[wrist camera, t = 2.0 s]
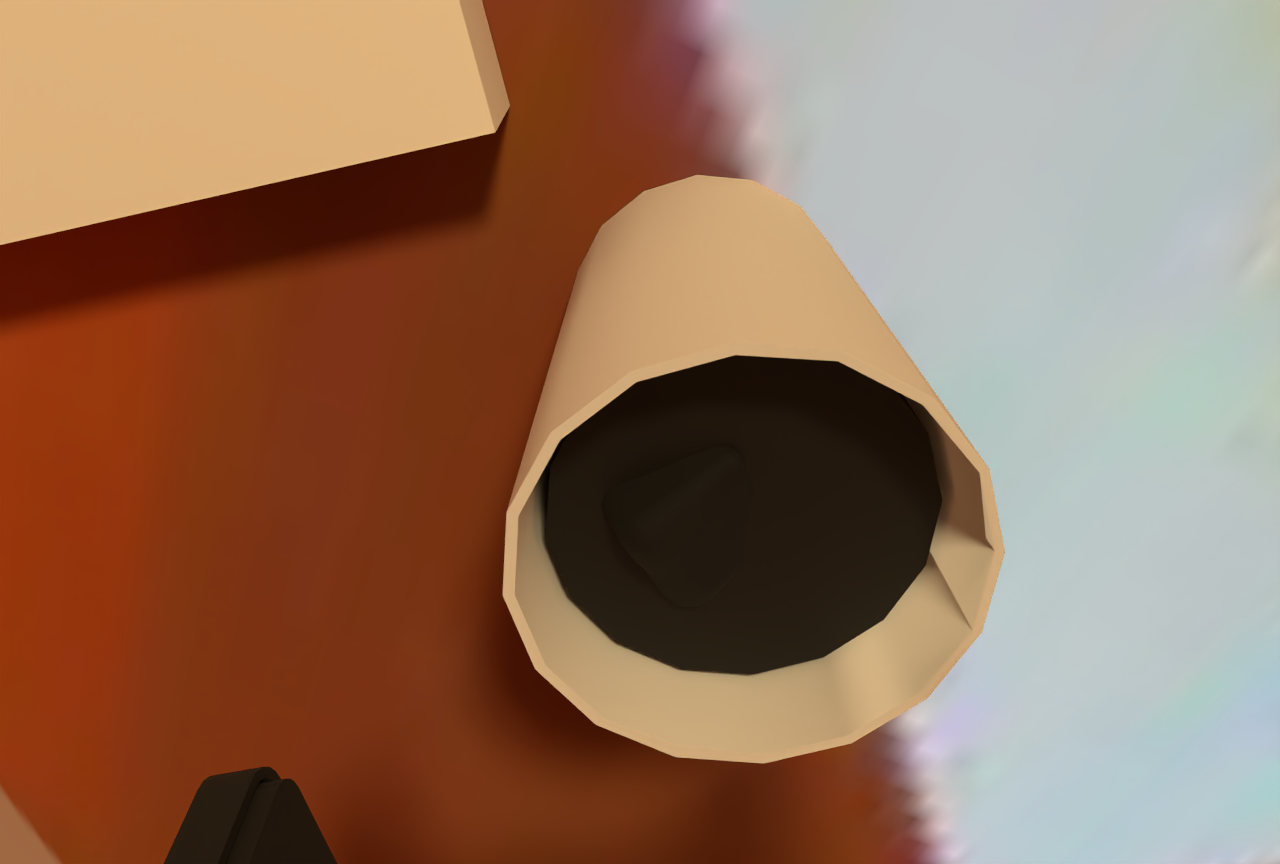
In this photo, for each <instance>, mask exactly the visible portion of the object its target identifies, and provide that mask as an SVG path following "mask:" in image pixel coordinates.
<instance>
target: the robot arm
mask: <svg viewBox="0 0 1280 864" xmlns="http://www.w3.org/2000/svg"><path fill="white" fill-rule="evenodd" d="M164 864H337V863H336V861H335V859H334V857H333V855H332V853H331V851H330V849H329V847H328V845H327V843H326V841H325V839H324V837H323V835H322V833H321V831H320V829H319V827H318V825H317V823H316V821H315V819H314V817H313V815H312V813H311V811H310V809H309V807H308V805H307V803H306V801H305V799H304V797H303V795H302V793H301V791H300V789H299V787H298V786H297V785H296V783H295V782H294V781H293V780H291V779H282V780H281V778H280V777H279V776H278V774H277V773H276V771H275V770H273V769H272V768H270V767H260V768H254V769H248V770H243V771H237V772H231V773H225V774H219V775H213V776H210V777H208V778H207V779H205V780H204V781H203V782H202V784H201V786H200V787H199V789H198V791H197V793H196V795H195V797H194V799H193V801H192V804H191V806H190V808H189V810H188V812H187V814H186V817H185V819H184V821H183V823H182V825H181V827H180V830H179V832H178V834H177V836H176V838H175V840H174V843H173V845H172V847H171V849H170V851H169V853H168V856H167V858H166V860H165V862H164Z"/></svg>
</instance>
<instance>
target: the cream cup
mask: <svg viewBox="0 0 1280 864" xmlns="http://www.w3.org/2000/svg"><path fill="white" fill-rule="evenodd" d="M1004 553H1005V550H1004V545H1003V540H1002V534H1001V529H1000V524H999V518H998V513H997V508H996V502H995V497H994V491H993V486H992V481H991V475H990V470H989V468H988V467H987V465H986V464H985V462H984V461H983V460H982V458H981V457H980V455H979V454H978V453H977V451H976V450H975V448H974V447H973V445H972V444H971V443H970V441H969V440H968V438H967V437H966V436H965V434H964V433H963V431H962V430H961V429H960V427H959V426H958V424H957V423H956V422H955V420H954V419H953V417H952V416H951V414H950V413H949V412H948V410H947V409H946V407H945V406H944V405H943V403H942V402H941V400H940V399H939V398H938V396H937V395H936V393H935V392H934V391H933V389H932V388H931V386H930V385H929V383H928V382H927V381H926V379H925V378H924V376H923V375H922V374H921V372H920V371H919V369H918V368H917V367H916V365H915V364H914V362H913V361H912V360H911V358H910V357H909V355H908V354H907V352H906V351H905V350H904V348H903V347H902V345H901V344H900V343H899V341H898V340H897V338H896V337H895V336H894V334H893V333H892V331H891V330H890V329H889V327H888V326H887V324H886V323H885V321H884V320H883V319H882V317H881V316H880V314H879V313H878V312H877V310H876V309H875V307H874V306H873V305H872V303H871V302H870V300H869V299H868V298H867V296H866V295H865V293H864V292H863V290H862V289H861V288H860V286H859V285H858V283H857V282H856V281H855V279H854V278H853V276H852V275H851V274H850V272H849V271H848V269H847V268H846V267H845V265H844V264H843V262H842V261H841V259H840V258H839V257H838V255H837V254H836V252H835V251H834V250H833V248H832V246H831V245H830V244H829V242H828V241H827V240H826V238H825V237H824V236H823V235H822V233H821V232H820V231H819V229H818V228H817V227H816V225H815V224H814V223H813V222H812V220H811V219H810V218H809V216H808V215H807V214H806V213H805V211H804V210H803V209H802V207H801V206H800V205H798V204H796V203H794V202H792V201H790V200H789V199H787V198H785V197H783V196H781V195H779V194H777V193H776V192H774V191H772V190H770V189H768V188H766V187H765V186H763V185H761V184H759V183H757V182H755V181H753V180H746V179H735V178H725V177H714V176H704V175H695V176H692V177H689V178H686V179H682V180H679V181H676V182H672V183H669V184H666V185H663V186H659V187H656V188H653V189H649V190H646V191H643V192H642V193H641V194H640V195H639V196H637V197H636V198H635V199H634V200H632V201H631V202H630V203H629V204H628V205H626V206H625V207H624V208H623V209H621V210H620V211H619V212H618V213H617V214H615V215H614V216H613V217H612V218H610V219H609V220H608V221H607V222H606V223H604V224H603V225H602V226H601V228H600V230H599V232H598V234H597V235H596V237H595V239H594V241H593V243H592V245H591V247H590V249H589V251H588V253H587V254H586V256H585V258H584V260H583V262H582V264H581V266H580V268H579V270H578V271H577V276H576V279H575V282H574V286H573V289H572V293H571V296H570V299H569V303H568V306H567V309H566V313H565V316H564V320H563V323H562V326H561V330H560V333H559V337H558V340H557V343H556V347H555V350H554V353H553V357H552V360H551V364H550V367H549V370H548V374H547V377H546V381H545V384H544V387H543V391H542V394H541V397H540V401H539V404H538V408H537V411H536V414H535V418H534V421H533V425H532V428H531V431H530V435H529V438H528V441H527V445H526V448H525V452H524V455H523V458H522V462H521V465H520V469H519V472H518V475H517V479H516V482H515V485H514V489H513V492H512V496H511V499H510V502H509V506H508V509H507V515H506V535H505V556H504V577H503V597H504V600H505V602H506V604H507V606H508V609H509V611H510V613H511V615H512V618H513V620H514V622H515V625H516V627H517V629H518V631H519V634H520V636H521V638H522V641H523V643H524V645H525V647H526V650H527V652H528V654H529V657H530V659H531V661H532V663H533V666H534V668H535V670H537V671H538V672H539V673H540V674H541V675H542V676H543V677H544V678H545V679H546V680H547V681H549V682H550V683H551V684H552V685H553V686H554V687H555V688H556V689H557V690H558V691H559V692H561V693H562V694H563V695H564V696H565V697H566V698H567V699H568V700H569V701H570V702H571V703H573V704H574V705H575V706H576V707H577V708H578V709H579V710H580V711H581V712H582V713H583V714H585V715H586V716H587V717H588V718H589V719H590V720H591V721H592V722H593V723H594V724H596V725H597V726H600V727H602V728H605V729H607V730H610V731H612V732H615V733H617V734H620V735H622V736H625V737H627V738H630V739H632V740H635V741H637V742H639V743H642V744H644V745H647V746H649V747H652V748H654V749H657V750H659V751H662V752H664V753H667V754H669V755H672V756H674V757H681V758H695V759H709V760H723V761H737V762H751V763H768V762H772V761H777V760H781V759H785V758H790V757H794V756H798V755H803V754H807V753H811V752H816V751H820V750H824V749H829V748H833V747H837V746H842V745H846V744H850V743H853V742H854V741H856V740H858V739H859V738H861V737H863V736H864V735H866V734H868V733H869V732H871V731H873V730H875V729H876V728H878V727H880V726H881V725H883V724H885V723H886V722H888V721H890V720H891V719H893V718H895V717H896V716H898V715H900V714H902V713H903V712H905V711H907V710H908V709H910V708H912V707H913V706H915V705H917V704H918V703H920V702H922V701H924V700H925V699H927V698H928V697H929V696H930V694H931V693H932V692H933V691H934V689H935V688H936V687H937V686H938V685H939V683H940V682H941V681H942V680H943V679H944V677H945V676H946V675H947V674H948V672H949V671H950V670H951V669H952V668H953V666H954V665H955V664H956V663H957V662H958V660H959V659H960V658H961V657H962V656H963V654H964V653H965V652H966V651H967V649H968V648H969V647H970V646H971V645H972V643H973V642H974V641H975V640H976V639H977V637H978V636H979V635H980V634H981V632H982V630H983V626H984V623H985V619H986V616H987V612H988V609H989V605H990V602H991V598H992V595H993V592H994V588H995V585H996V581H997V578H998V574H999V571H1000V567H1001V564H1002V560H1003V557H1004Z"/></svg>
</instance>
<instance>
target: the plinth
mask: <svg viewBox="0 0 1280 864" xmlns="http://www.w3.org/2000/svg"><path fill="white" fill-rule="evenodd" d="M509 107H510V104H509V100H508V97H507V93H506V89H505V85H504V82H503V78H502V74H501V70H500V67H499V63H498V59H497V55H496V52H495V48H494V44H493V40H492V37H491V33H490V29H489V25H488V22H487V18H486V14H485V10H484V7H483V3H482V0H0V245H2V244H7V243H11V242H16V241H20V240H24V239H29V238H33V237H38V236H42V235H46V234H51V233H55V232H60V231H64V230H68V229H73V228H77V227H82V226H86V225H90V224H95V223H99V222H104V221H108V220H112V219H117V218H121V217H126V216H130V215H134V214H139V213H143V212H148V211H152V210H156V209H161V208H165V207H170V206H174V205H178V204H183V203H187V202H192V201H196V200H200V199H205V198H209V197H214V196H218V195H222V194H227V193H231V192H236V191H240V190H244V189H249V188H253V187H258V186H262V185H266V184H271V183H275V182H280V181H284V180H288V179H293V178H297V177H302V176H306V175H310V174H315V173H319V172H324V171H328V170H332V169H337V168H341V167H346V166H350V165H354V164H359V163H363V162H368V161H372V160H376V159H381V158H385V157H390V156H394V155H399V154H403V153H407V152H412V151H416V150H421V149H425V148H429V147H434V146H438V145H443V144H447V143H451V142H456V141H460V140H465V139H469V138H473V137H478V136H482V135H487V134H491V133H495V132H496V130H497V129H498V127H499V125H500V123H501V121H502V120H503V118H504V116H505V114H506V112H507V111H508V109H509Z"/></svg>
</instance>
